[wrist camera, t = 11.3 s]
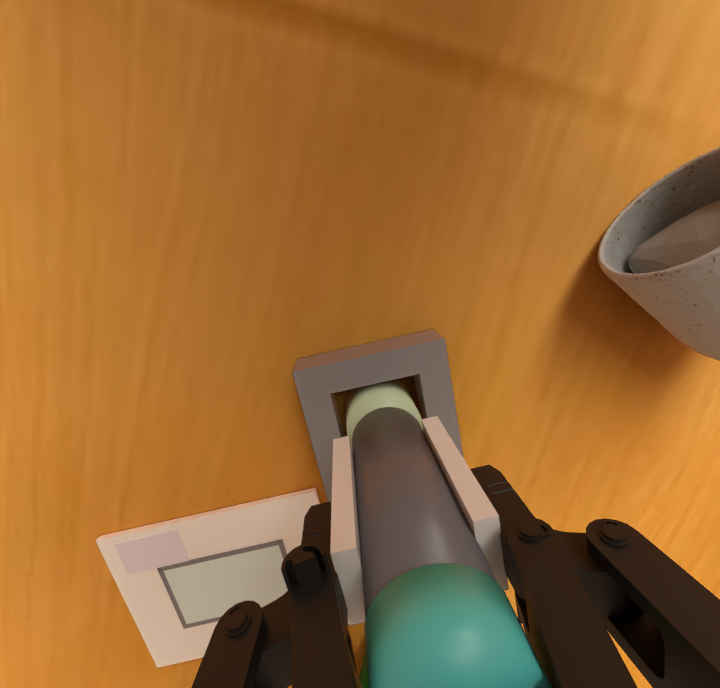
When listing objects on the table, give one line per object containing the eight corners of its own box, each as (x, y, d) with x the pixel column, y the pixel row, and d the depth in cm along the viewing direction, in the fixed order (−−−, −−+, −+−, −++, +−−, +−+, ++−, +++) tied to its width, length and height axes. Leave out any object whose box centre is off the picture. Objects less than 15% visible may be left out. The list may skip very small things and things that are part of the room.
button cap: (339, 383, 21) (339, 404, 18) (405, 368, 21) (415, 387, 18) (353, 443, 22) (355, 472, 19) (416, 429, 22) (428, 455, 19)
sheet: (99, 535, 23) (94, 541, 22) (315, 487, 23) (315, 492, 22) (160, 661, 25) (156, 669, 25) (352, 617, 25) (352, 624, 25)
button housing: (297, 358, 21) (292, 372, 18) (432, 328, 21) (444, 338, 18) (329, 477, 23) (328, 502, 20) (452, 449, 23) (465, 471, 20)
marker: (359, 471, 19) (394, 807, 7) (342, 409, 18) (351, 682, 7) (426, 454, 19) (566, 765, 7) (413, 391, 18) (546, 632, 7)
